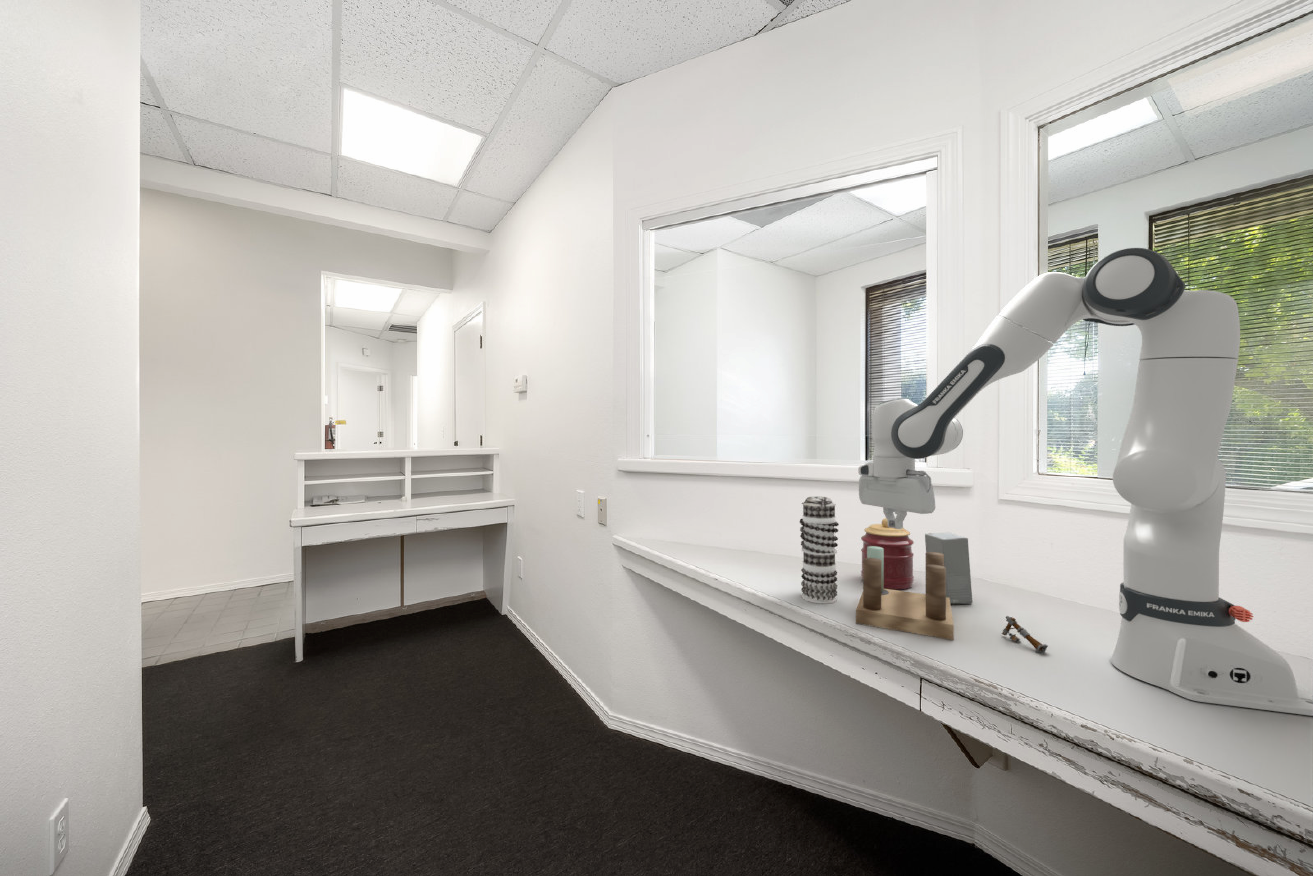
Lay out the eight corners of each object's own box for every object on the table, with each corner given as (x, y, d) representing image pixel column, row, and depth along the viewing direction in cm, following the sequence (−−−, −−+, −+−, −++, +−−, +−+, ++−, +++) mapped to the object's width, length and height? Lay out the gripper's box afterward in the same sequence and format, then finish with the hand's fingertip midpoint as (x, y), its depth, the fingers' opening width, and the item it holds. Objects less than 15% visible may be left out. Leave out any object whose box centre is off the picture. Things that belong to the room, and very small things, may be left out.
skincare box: (973, 604, 115) (973, 538, 115) (942, 604, 115) (942, 538, 115) (952, 593, 124) (952, 531, 124) (923, 593, 124) (923, 531, 124)
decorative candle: (825, 607, 114) (825, 501, 114) (792, 597, 122) (792, 497, 121) (846, 598, 120) (846, 498, 120) (813, 589, 127) (813, 494, 127)
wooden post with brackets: (1002, 629, 99) (1011, 613, 97) (1038, 662, 92) (1048, 644, 90) (995, 630, 98) (1004, 613, 96) (1031, 663, 91) (1041, 645, 89)
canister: (920, 592, 125) (919, 523, 124) (865, 588, 128) (865, 521, 127) (906, 577, 137) (906, 515, 137) (857, 574, 140) (857, 513, 140)
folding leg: (867, 586, 119) (867, 545, 119) (883, 588, 117) (883, 547, 117) (865, 597, 111) (865, 554, 110) (883, 600, 109) (883, 555, 109)
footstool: (949, 610, 112) (949, 552, 112) (953, 640, 96) (953, 572, 96) (864, 598, 120) (864, 544, 120) (855, 623, 105) (855, 561, 104)
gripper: (941, 470, 104) (943, 535, 104) (874, 466, 124) (875, 520, 124) (918, 471, 102) (919, 537, 102) (853, 467, 122) (854, 522, 122)
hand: (895, 528), depth 113 cm, fingers closed
